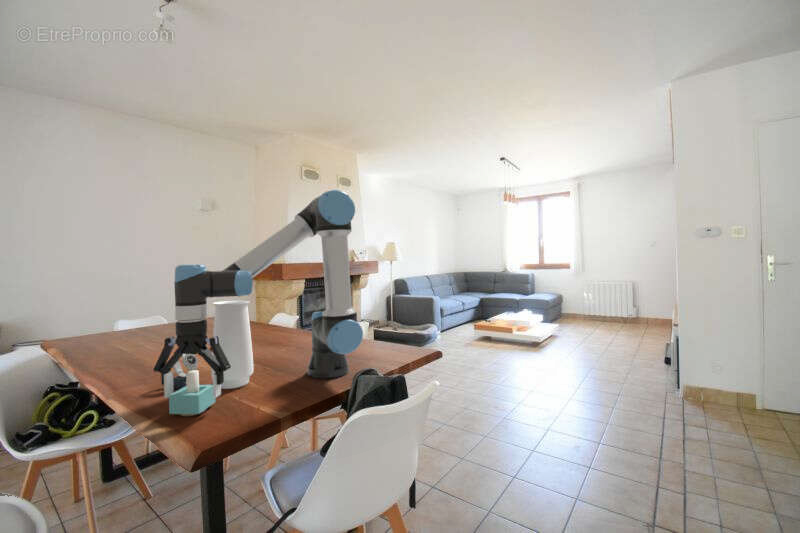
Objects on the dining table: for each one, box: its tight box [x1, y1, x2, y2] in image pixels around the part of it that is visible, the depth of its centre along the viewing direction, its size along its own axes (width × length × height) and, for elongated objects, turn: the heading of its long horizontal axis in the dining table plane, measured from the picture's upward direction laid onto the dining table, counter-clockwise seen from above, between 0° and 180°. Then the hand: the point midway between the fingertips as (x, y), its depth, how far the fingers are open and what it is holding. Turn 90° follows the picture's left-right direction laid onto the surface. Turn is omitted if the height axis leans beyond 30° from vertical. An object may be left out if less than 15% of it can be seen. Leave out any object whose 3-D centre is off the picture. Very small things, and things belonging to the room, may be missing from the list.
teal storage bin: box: [168, 384, 217, 415], centre depth 97 cm, size 8×8×5 cm
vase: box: [210, 299, 255, 390], centre depth 118 cm, size 13×13×28 cm
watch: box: [172, 354, 199, 389], centre depth 118 cm, size 6×8×11 cm
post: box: [179, 369, 208, 417], centre depth 97 cm, size 6×6×11 cm
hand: (193, 396), depth 97 cm, fingers open, 13 cm apart
